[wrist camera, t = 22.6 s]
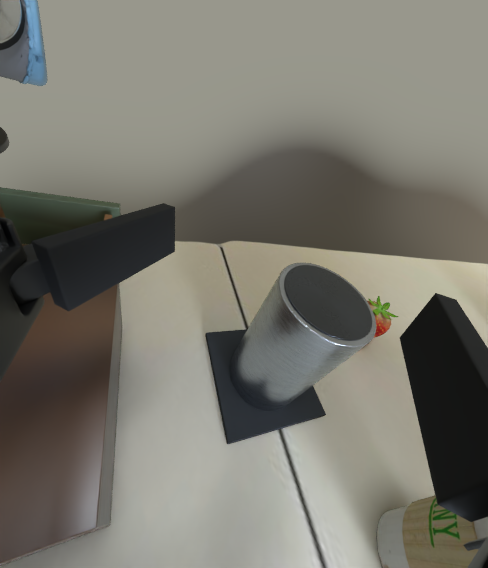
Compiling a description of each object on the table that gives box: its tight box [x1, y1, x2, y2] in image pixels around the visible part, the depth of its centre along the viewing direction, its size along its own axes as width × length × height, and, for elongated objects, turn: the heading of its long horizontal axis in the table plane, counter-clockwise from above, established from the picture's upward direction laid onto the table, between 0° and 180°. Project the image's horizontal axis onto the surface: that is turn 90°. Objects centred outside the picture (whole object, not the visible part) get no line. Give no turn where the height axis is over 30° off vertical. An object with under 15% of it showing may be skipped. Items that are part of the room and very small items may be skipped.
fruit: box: [367, 296, 398, 337], centre depth 36 cm, size 5×5×8 cm
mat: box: [206, 329, 326, 444], centre depth 28 cm, size 12×12×1 cm
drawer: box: [0, 187, 121, 246], centre depth 26 cm, size 20×12×7 cm, turn 17°
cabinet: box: [0, 283, 122, 566], centre depth 16 cm, size 17×14×9 cm
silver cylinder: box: [230, 263, 376, 411], centre depth 23 cm, size 8×8×14 cm
